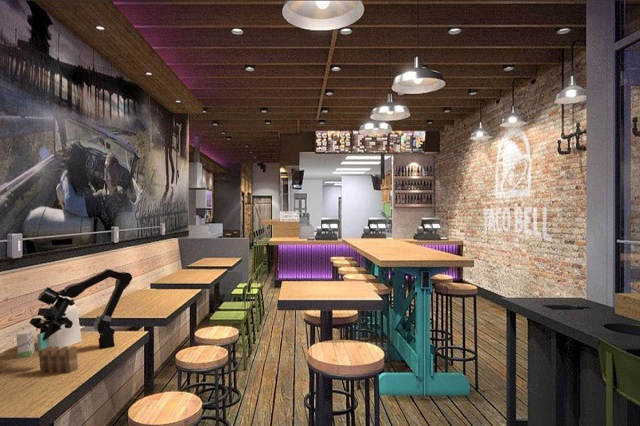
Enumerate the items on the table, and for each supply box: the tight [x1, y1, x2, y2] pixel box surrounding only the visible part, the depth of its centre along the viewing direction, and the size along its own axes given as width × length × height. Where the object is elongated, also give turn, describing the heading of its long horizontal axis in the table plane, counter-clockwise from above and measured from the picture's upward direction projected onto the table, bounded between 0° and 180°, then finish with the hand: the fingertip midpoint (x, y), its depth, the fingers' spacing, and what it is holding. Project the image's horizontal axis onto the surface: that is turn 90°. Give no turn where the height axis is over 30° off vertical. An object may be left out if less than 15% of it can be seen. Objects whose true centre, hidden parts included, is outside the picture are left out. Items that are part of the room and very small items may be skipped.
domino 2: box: [38, 346, 51, 374], centre depth 183 cm, size 2×4×10 cm, turn 170°
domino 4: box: [56, 346, 69, 374], centre depth 182 cm, size 2×4×10 cm, turn 170°
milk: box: [49, 295, 83, 349], centre depth 223 cm, size 12×12×26 cm
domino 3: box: [47, 347, 60, 374], centre depth 183 cm, size 2×4×10 cm, turn 170°
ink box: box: [15, 328, 36, 359], centre depth 209 cm, size 8×5×12 cm, turn 19°
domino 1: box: [36, 332, 50, 358], centre depth 188 cm, size 2×4×10 cm, turn 170°
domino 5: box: [65, 345, 79, 374], centre depth 181 cm, size 2×4×10 cm, turn 170°
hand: (41, 339), depth 187 cm, fingers closed on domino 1, 2 cm apart
